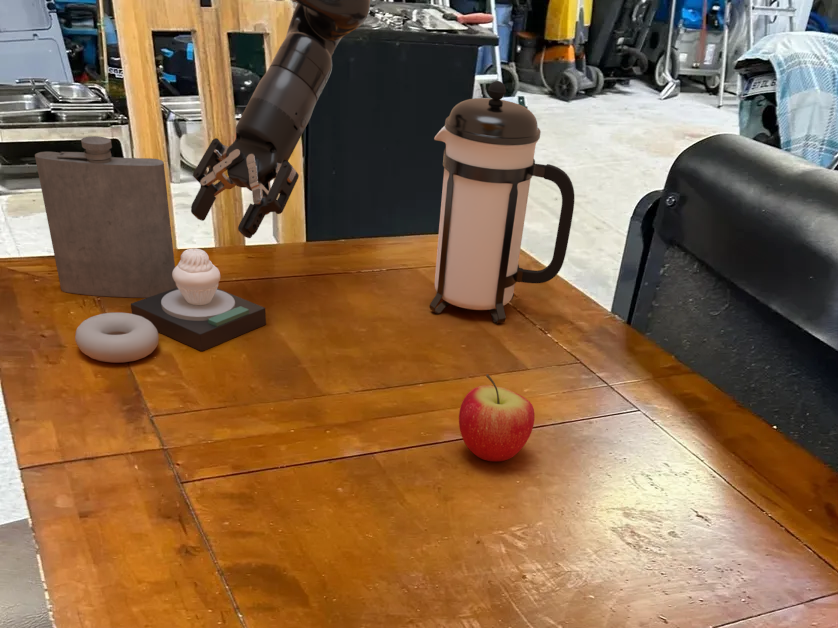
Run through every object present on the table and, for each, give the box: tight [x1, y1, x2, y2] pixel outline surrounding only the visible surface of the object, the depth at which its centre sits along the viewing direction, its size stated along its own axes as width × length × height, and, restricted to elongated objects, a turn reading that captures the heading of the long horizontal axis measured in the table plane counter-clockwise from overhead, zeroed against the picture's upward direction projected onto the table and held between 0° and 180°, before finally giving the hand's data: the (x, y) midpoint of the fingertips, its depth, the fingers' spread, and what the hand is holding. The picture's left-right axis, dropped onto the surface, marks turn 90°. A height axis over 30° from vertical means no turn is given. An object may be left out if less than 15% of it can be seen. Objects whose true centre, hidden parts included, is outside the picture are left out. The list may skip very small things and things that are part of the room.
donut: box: [74, 311, 159, 364], centre depth 112 cm, size 10×3×10 cm
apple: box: [458, 373, 536, 462], centre depth 99 cm, size 8×8×10 cm
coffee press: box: [429, 80, 575, 325], centre depth 125 cm, size 17×16×30 cm
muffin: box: [172, 247, 221, 305], centre depth 117 cm, size 6×6×7 cm
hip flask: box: [34, 135, 177, 299], centre depth 119 cm, size 16×4×20 cm, turn 97°
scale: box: [130, 287, 267, 352], centre depth 120 cm, size 13×12×3 cm
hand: (219, 225), depth 116 cm, fingers open, 8 cm apart
